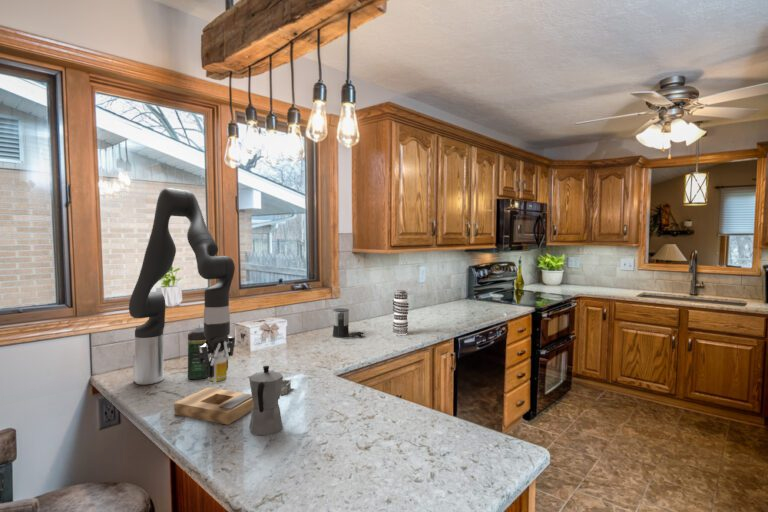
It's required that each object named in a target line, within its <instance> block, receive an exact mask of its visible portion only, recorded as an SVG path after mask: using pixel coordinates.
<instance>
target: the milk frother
mask: <svg viewBox="0 0 768 512" xmlns="http://www.w3.org/2000/svg"><path fill="white" fill-rule="evenodd" d="M349 311H350V309H349V308H343V307H342V308H338V307H337V308H333V309H332V312H333V313H332V315H333V316H332V318H333V319H332V323H333V324H332V325H333V326H332V328H333V330H332V337H335V338H347V337H350V336H357V337H361V336H362V335H364V331H363V332H362V331H355V332H352V333H350V332H349V325H350V324H349V313H350V312H349Z"/></svg>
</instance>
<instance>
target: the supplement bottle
mask: <svg viewBox="0 0 768 512" xmlns="http://www.w3.org/2000/svg"><path fill="white" fill-rule="evenodd" d="M210 355H213V354H212V353H210ZM210 360H211V357H210V359H209V361H210ZM213 365H214V377H212V378H209V377H207V383H208V384H210V385H221V384H224V383H226V382H227V379H228V378H227V375H228V374H227V372H228V370H227V359H226V358H225V357H224V350H223V351H221V352H218V354H217V357H216V358H215V360H214V364H213Z"/></svg>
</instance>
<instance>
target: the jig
mask: <svg viewBox="0 0 768 512" xmlns="http://www.w3.org/2000/svg"><path fill="white" fill-rule="evenodd" d="M173 406H174V407H173V408H174V415H176V416H181V417H187V418H192V419H196V420H202V421H207V422H212V423H218V424H222V425H230V424H231V423H233V422H235V421H236V420H238V419H240V418H241V417H243V416H245V415H247V414H248V413H250V412H252V409H253V406H254V402H253V399H252V393H245V392H239V391H234V390H227V389H221V388H214V387H209V386H207V387H206V388H204V389H201V390H199V391H197V392H195V393H192V394H190V395H189V396H186V397H184V398H182V399H180V400H177V401H175V402H174V403H173Z"/></svg>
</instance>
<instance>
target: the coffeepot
mask: <svg viewBox="0 0 768 512" xmlns="http://www.w3.org/2000/svg"><path fill="white" fill-rule="evenodd" d="M248 380H249V386H250V392H251V393H250V394H252V399H253V402H254V406H253V409H252V410H251V415H250V421H249V427H248V429H249V432H250V433H251V434H252V435H255V436H257V437H258V436H260V437H262V436H264V437H265V436H271V435H273V434H276V433H279V431H281V430H282V428H283V427H284V426H283V421H282V417H281V415H282V414H281V410H280V409H281V407H280V405H279V400H280V398H281V395H280V393H281V387H282V380H284V376H283V374H282V373H281V372H279V371H274V370H273V369H271V370H270V366H269V365H264V366H263V371H260V372H256V373H253V374H252V375H250V376H248Z"/></svg>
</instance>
